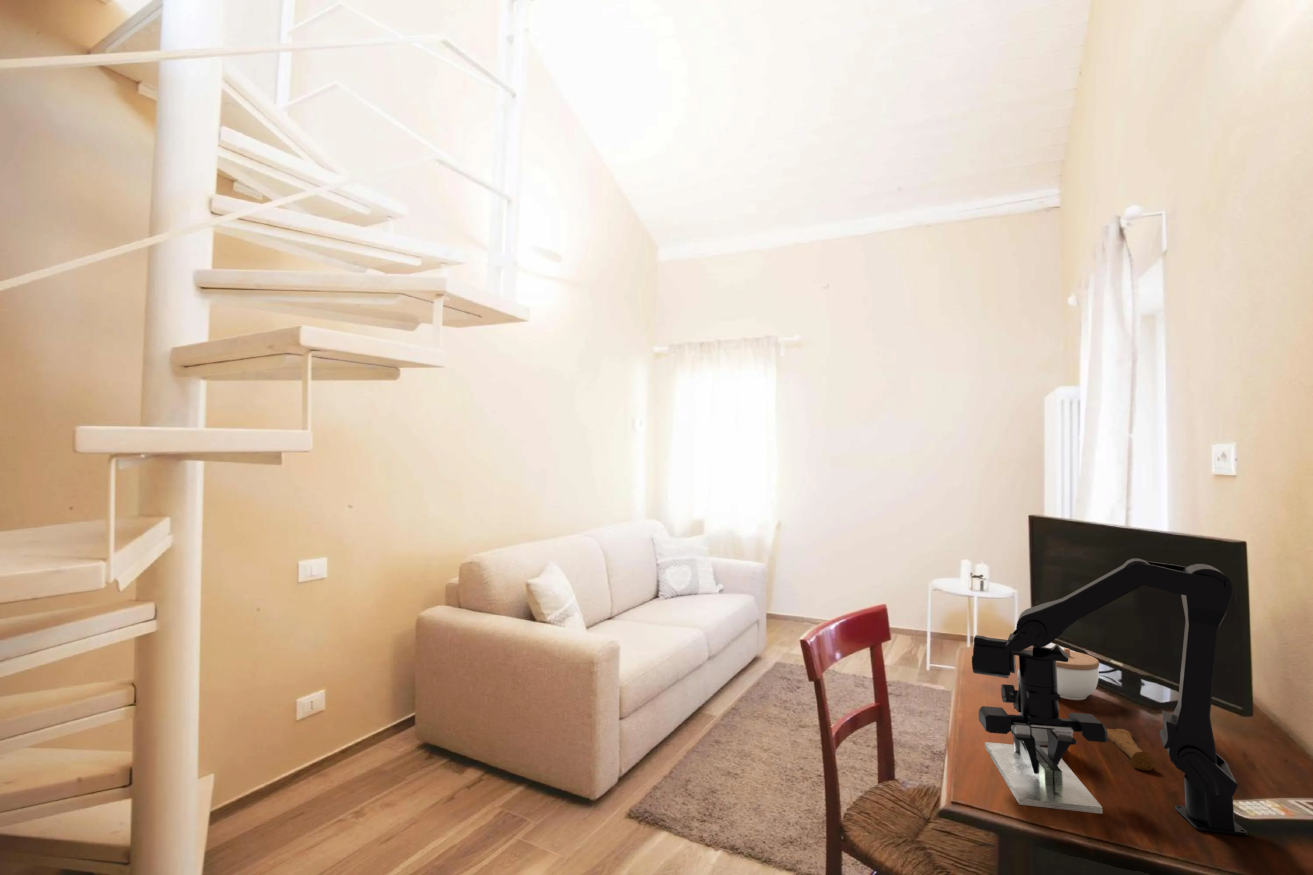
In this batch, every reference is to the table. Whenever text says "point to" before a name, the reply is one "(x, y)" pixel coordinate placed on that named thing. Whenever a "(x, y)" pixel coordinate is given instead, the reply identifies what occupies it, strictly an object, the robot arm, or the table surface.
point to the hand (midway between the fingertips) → (1042, 773)
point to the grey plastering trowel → (1040, 780)
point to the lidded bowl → (1077, 675)
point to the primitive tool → (1131, 748)
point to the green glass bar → (1056, 770)
